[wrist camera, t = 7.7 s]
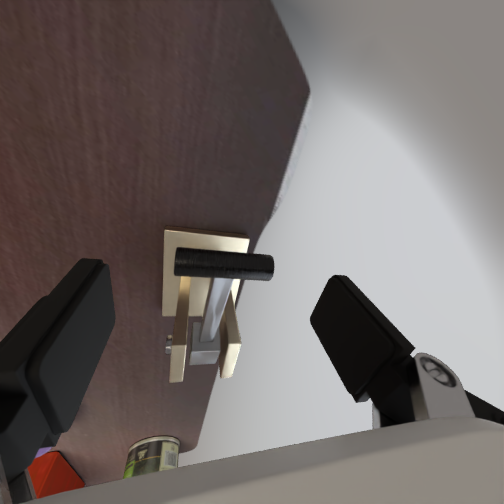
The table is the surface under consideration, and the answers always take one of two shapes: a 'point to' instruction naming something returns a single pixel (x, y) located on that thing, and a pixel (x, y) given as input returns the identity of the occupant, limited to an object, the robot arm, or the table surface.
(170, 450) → the coffee can
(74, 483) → the file binder
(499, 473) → the robot arm
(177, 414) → the table surface
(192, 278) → the bracket
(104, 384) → the table surface
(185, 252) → the lever
